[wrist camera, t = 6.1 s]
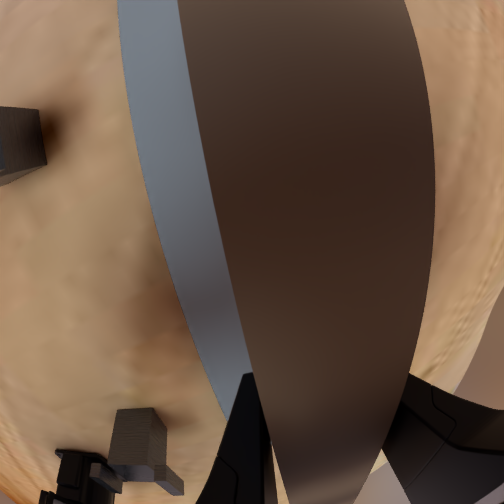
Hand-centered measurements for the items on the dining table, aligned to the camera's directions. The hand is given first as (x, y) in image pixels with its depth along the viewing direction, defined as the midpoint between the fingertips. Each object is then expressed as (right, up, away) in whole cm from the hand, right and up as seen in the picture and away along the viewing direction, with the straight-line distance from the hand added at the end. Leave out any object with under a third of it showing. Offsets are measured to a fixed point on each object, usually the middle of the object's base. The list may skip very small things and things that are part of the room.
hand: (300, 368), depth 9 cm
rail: (0, 0, -1) cm, 1 cm away
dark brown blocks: (-10, -9, +9) cm, 16 cm away
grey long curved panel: (-1, +2, +6) cm, 6 cm away
